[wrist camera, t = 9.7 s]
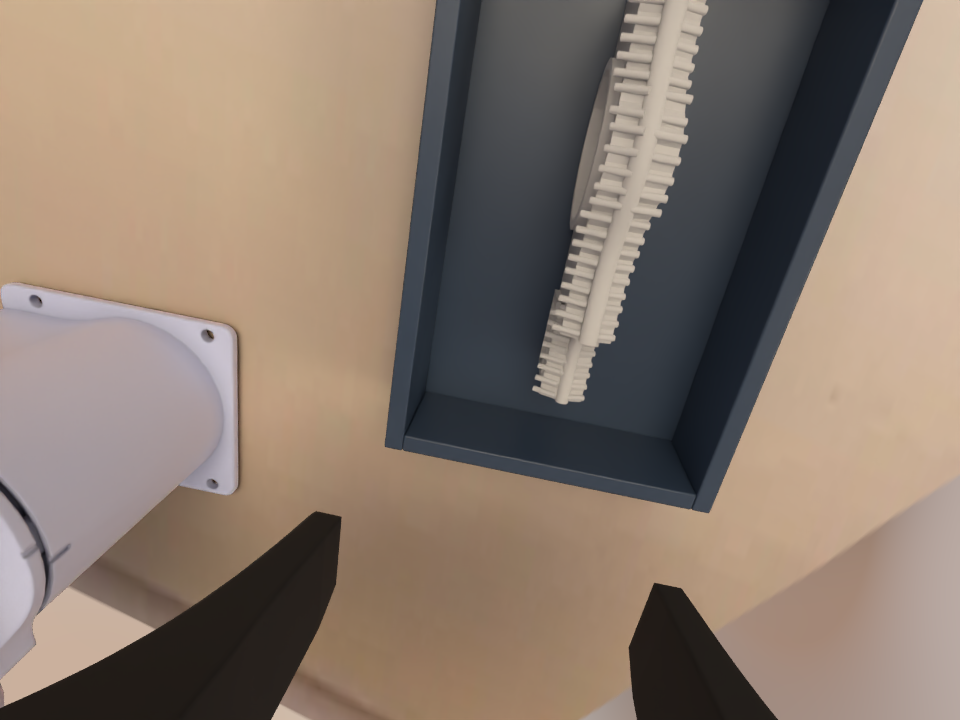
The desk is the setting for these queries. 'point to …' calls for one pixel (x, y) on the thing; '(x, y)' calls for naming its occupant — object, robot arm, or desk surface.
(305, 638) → the robot arm
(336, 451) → the desk surface
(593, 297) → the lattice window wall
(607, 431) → the tote
